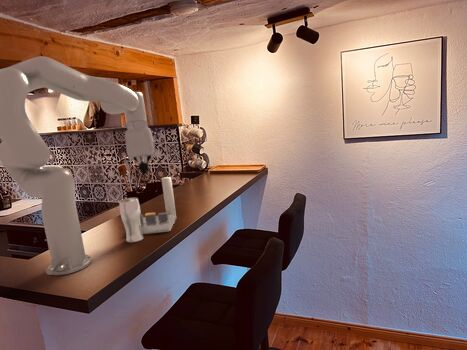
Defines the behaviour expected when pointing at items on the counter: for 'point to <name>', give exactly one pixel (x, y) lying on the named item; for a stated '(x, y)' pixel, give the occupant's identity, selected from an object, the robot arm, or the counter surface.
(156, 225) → the breaker panel
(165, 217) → the grey rectangular box
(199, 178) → the counter surface
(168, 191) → the post
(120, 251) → the counter surface
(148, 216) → the paddle mid
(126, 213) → the beer glass
